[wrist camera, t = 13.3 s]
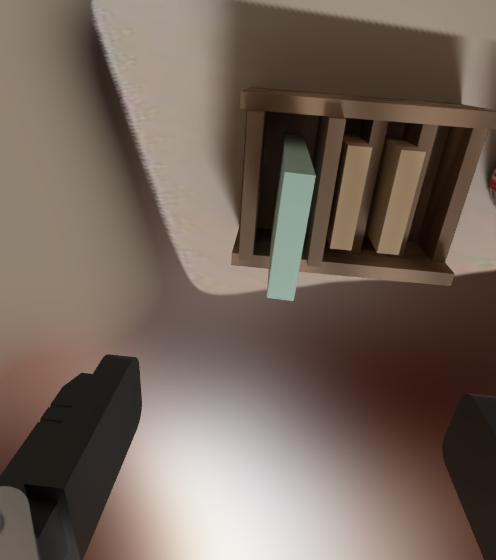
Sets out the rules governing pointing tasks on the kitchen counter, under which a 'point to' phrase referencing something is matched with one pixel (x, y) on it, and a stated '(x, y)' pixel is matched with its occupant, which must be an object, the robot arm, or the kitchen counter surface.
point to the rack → (325, 158)
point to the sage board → (290, 216)
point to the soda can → (493, 187)
